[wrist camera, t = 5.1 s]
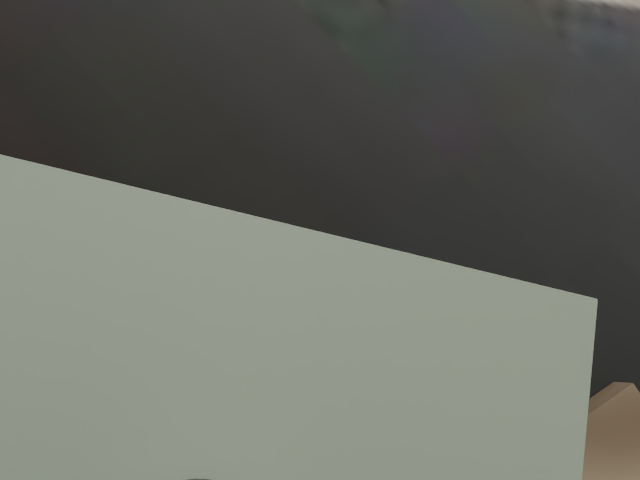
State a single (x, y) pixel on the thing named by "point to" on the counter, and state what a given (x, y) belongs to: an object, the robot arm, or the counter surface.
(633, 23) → the counter surface
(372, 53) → the counter surface
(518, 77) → the counter surface
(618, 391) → the birch board
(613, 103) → the counter surface
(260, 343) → the knobbed sage box
